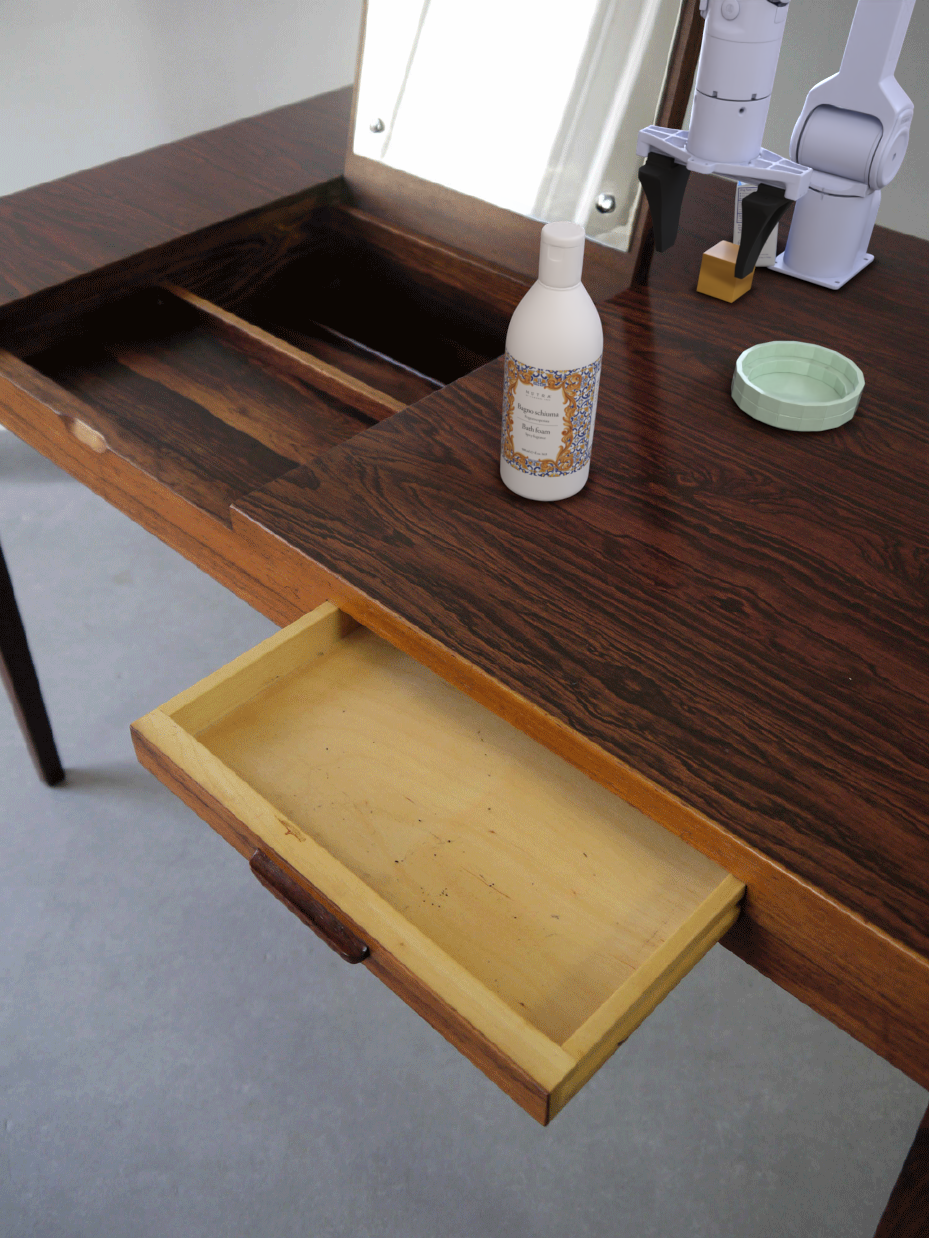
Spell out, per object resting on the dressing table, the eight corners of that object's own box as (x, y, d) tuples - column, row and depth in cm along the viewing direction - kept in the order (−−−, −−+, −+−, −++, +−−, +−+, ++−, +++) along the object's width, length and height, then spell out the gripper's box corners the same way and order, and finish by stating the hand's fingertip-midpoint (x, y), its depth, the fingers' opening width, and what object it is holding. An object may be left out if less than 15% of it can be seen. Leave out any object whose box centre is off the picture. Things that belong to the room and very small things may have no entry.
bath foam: (486, 492, 82) (495, 241, 68) (516, 445, 86) (530, 201, 73) (572, 513, 80) (599, 259, 66) (598, 464, 85) (628, 218, 71)
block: (715, 277, 109) (722, 240, 106) (750, 289, 107) (758, 251, 104) (696, 291, 107) (702, 253, 104) (731, 303, 105) (739, 264, 102)
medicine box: (774, 268, 110) (782, 183, 104) (730, 268, 111) (736, 184, 105) (776, 238, 116) (783, 156, 110) (734, 238, 117) (739, 157, 111)
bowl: (764, 358, 97) (771, 328, 95) (875, 398, 92) (885, 368, 90) (707, 405, 91) (713, 375, 89) (822, 451, 86) (832, 420, 84)
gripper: (623, 81, 81) (605, 252, 90) (796, 125, 74) (757, 304, 84) (672, 60, 85) (649, 225, 94) (839, 100, 78) (798, 273, 88)
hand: (703, 261), depth 89 cm, fingers open, 7 cm apart
